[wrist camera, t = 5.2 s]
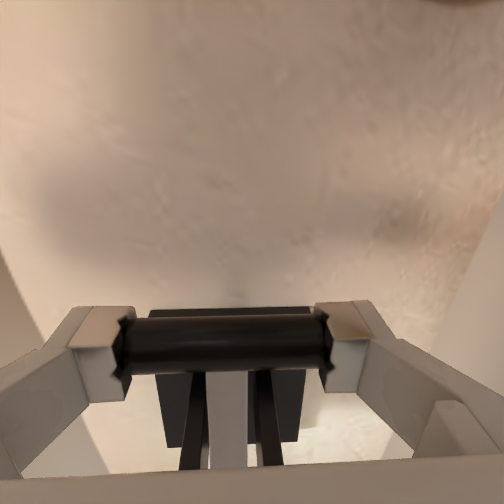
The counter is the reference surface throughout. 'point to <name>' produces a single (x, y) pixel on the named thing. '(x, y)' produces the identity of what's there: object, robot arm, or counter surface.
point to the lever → (224, 363)
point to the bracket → (258, 408)
